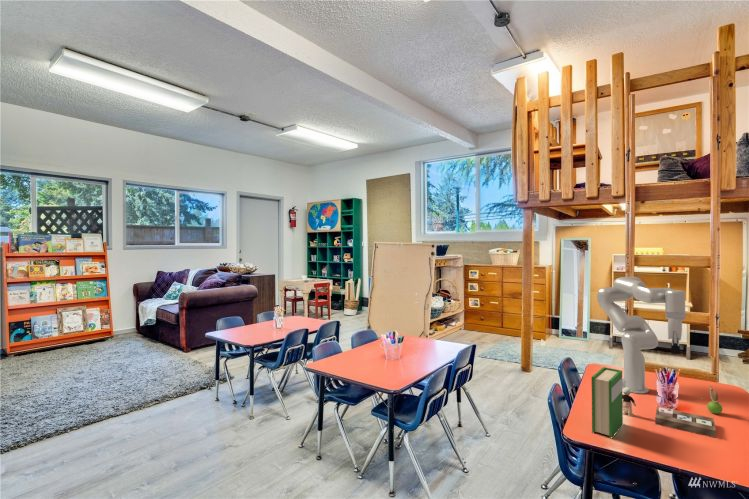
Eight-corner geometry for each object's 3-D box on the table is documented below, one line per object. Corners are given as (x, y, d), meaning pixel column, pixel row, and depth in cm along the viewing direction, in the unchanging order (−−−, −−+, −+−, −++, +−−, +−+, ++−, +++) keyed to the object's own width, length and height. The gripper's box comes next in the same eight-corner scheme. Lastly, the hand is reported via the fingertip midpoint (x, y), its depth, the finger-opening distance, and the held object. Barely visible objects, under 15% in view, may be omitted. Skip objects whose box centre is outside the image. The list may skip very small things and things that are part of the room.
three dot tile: (677, 424, 166) (677, 418, 166) (677, 419, 170) (677, 414, 170) (691, 427, 163) (691, 421, 163) (691, 423, 167) (691, 417, 167)
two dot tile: (658, 416, 171) (658, 410, 170) (659, 412, 174) (659, 406, 174) (672, 419, 167) (672, 413, 167) (672, 415, 171) (672, 409, 171)
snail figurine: (717, 410, 180) (717, 385, 180) (725, 416, 174) (724, 390, 174) (703, 409, 182) (703, 384, 181) (710, 414, 176) (710, 389, 175)
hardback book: (612, 438, 156) (611, 381, 156) (592, 432, 161) (591, 376, 161) (622, 424, 168) (622, 370, 168) (603, 418, 173) (603, 367, 173)
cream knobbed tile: (696, 428, 162) (696, 422, 162) (696, 424, 166) (695, 417, 166) (711, 431, 159) (711, 425, 159) (711, 427, 163) (711, 421, 163)
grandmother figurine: (637, 415, 177) (637, 388, 176) (635, 418, 174) (635, 390, 174) (618, 410, 182) (617, 384, 182) (616, 413, 179) (616, 386, 179)
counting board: (655, 424, 168) (655, 417, 168) (656, 412, 179) (656, 406, 179) (715, 437, 155) (715, 430, 155) (713, 425, 166) (713, 418, 166)
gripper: (665, 312, 190) (666, 348, 190) (664, 317, 178) (665, 355, 178) (685, 314, 185) (685, 351, 185) (685, 319, 173) (685, 358, 173)
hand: (675, 353), depth 182 cm, fingers closed
